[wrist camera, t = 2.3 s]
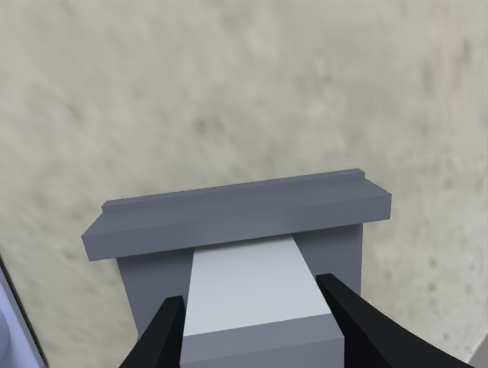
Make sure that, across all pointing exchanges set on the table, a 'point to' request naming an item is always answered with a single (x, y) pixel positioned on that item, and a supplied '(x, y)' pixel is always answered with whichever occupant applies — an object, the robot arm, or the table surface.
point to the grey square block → (257, 309)
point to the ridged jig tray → (234, 230)
